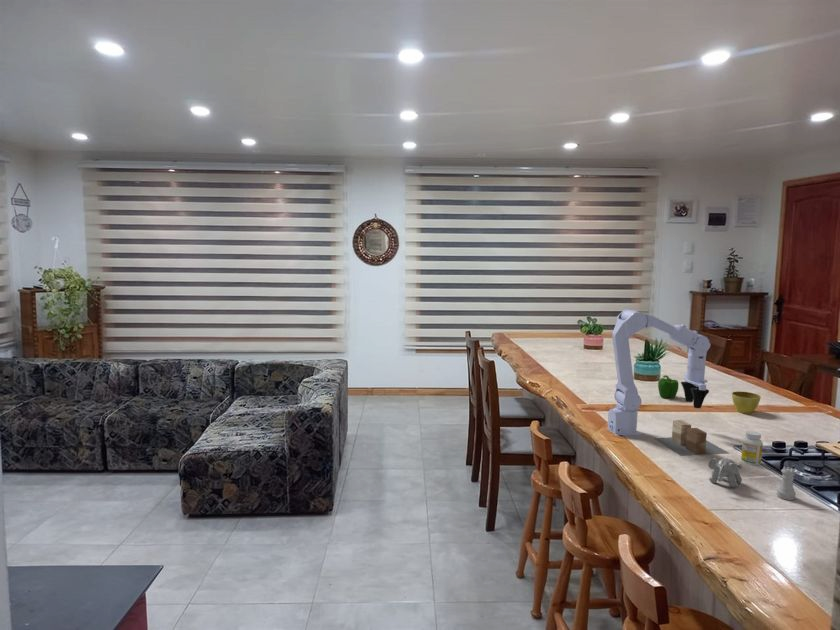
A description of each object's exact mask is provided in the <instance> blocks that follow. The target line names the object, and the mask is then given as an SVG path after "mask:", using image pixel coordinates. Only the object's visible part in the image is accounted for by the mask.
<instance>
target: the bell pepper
mask: <svg viewBox="0 0 840 630" xmlns="http://www.w3.org/2000/svg"><path fill="white" fill-rule="evenodd" d="M657 383H658V384H657V389H658V393H659V397H661V398H664V399H667V398H668V399H674V398H676V397H677V393H678V391H679V381H678V380H677V379H672V378H670V376H669V375H667V374H665V375H664V374H663V375H662V378H660V379H659V381H658V382H657Z"/></svg>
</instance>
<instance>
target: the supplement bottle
mask: <svg viewBox="0 0 840 630" xmlns="http://www.w3.org/2000/svg"><path fill="white" fill-rule="evenodd" d="M761 438H762V434H761V432H758V431H754V430H747V431H746V432H745V437H743V439H742V444H741V446H742V447H741V456H740V459H741V460H740V462H743V463H744V464H748V465H751V466H753V465H754V466H759V465H761V463H762V454H763V444H764V443H763V440H761Z"/></svg>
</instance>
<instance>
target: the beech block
mask: <svg viewBox="0 0 840 630" xmlns="http://www.w3.org/2000/svg"><path fill="white" fill-rule="evenodd" d="M687 428H692V424H691V423H689V422H687V421H685V420H683V419H675V420H674V419H673V420H672V431H671V437H672V440H673V441H674V442H676V443H678V444H680V445H686V438H687Z"/></svg>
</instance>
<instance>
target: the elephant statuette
mask: <svg viewBox="0 0 840 630" xmlns="http://www.w3.org/2000/svg"><path fill="white" fill-rule="evenodd" d="M707 465H708V468H709V469H710V470H712V471H711V476H709V478H708V480H709V481H710V482H711V483H712V484H717V482H719V483H720V482H721V481H722V478H726V479H727V480H728V481H729V482H728V483H729V487H730V488H733V489H734V488H738V487H739V484H741V483H742V480H743V479H742V478H743V477H742V476H741V474H740V472H739V469H742V468H743V465H742V464H741V463H738V464H737V463H735V462H734V461H733V459H731V458H730V459H729V458H721V459H720V460H718V459H717V458H716V457H714V458H710V460H709V461H708V464H707Z"/></svg>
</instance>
